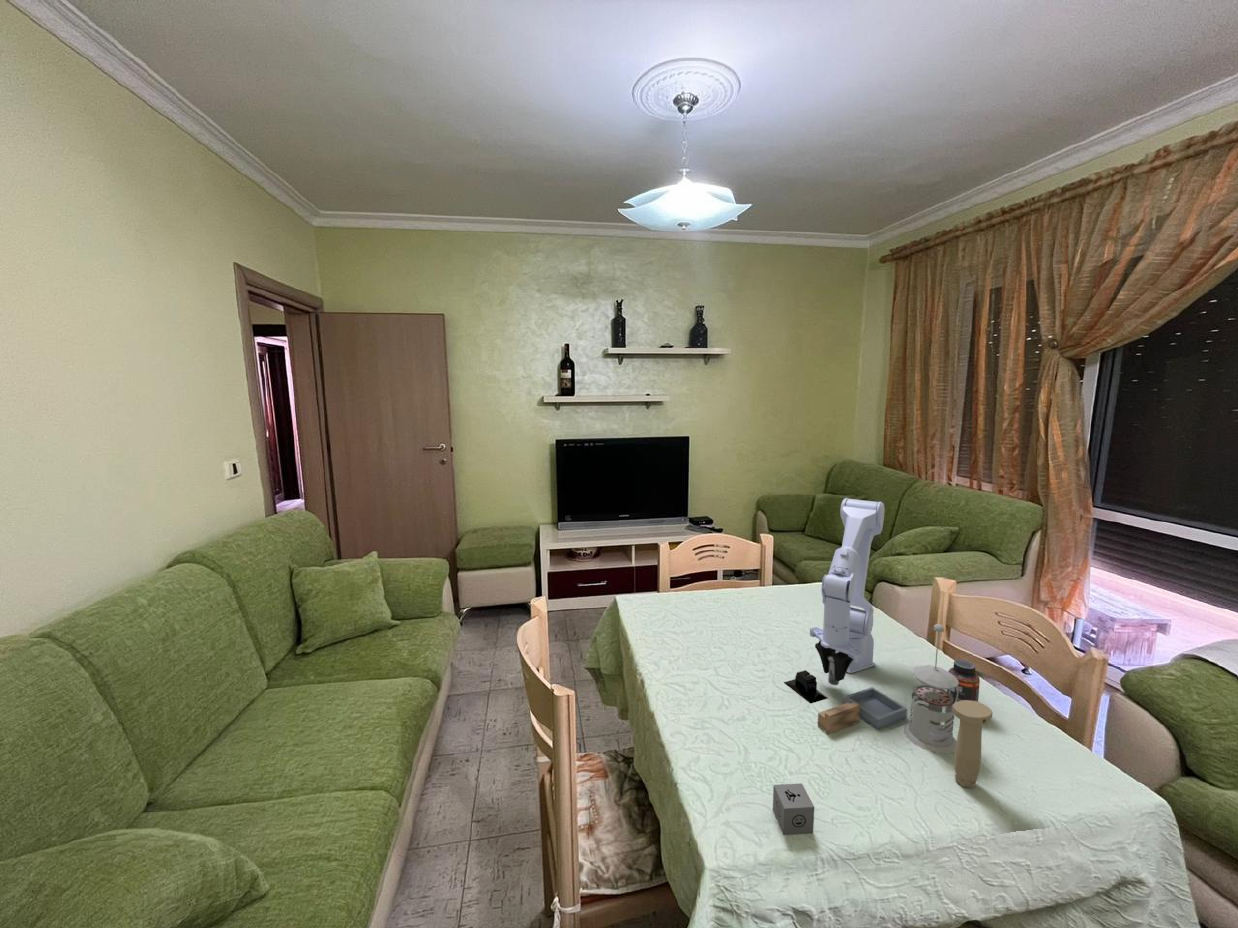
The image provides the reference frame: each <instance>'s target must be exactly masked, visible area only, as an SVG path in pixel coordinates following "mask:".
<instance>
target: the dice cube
mask: <svg viewBox="0 0 1238 928" xmlns="http://www.w3.org/2000/svg"><path fill="white" fill-rule="evenodd" d="M772 791H773V793H772V798H773V799H772V812H773V814H774V817H775V819H776V821H777V823H778V825H779V828H780V831H781V833H782V835H783V836H792V835H808V834H809V835H810V834H814V826H815V825H814V819H815V806H814V804H813V802H812V799H811V798H810V796H809V794H808V792H807V791H806V788H805V787H804V785H803V783H786V784H785V783H784V784H773V790H772Z"/></svg>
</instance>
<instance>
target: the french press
mask: <svg viewBox="0 0 1238 928" xmlns="http://www.w3.org/2000/svg"><path fill="white" fill-rule="evenodd" d="M933 631H935V632H937V640H936V650H935V651H936V652H935V664H934V665H931V664H926V665H918V666H915V667H913V668H912V675H913V676H914V677H915V679H916V680H918V681H919V682H920V683H921V684H917V685H915V686H914V687H913V691H912V693H911V696H910V697H911V698H910V712H909V721H908V722H907V723H906V724H904V726H903V734H904V735H905V737H906V738H907V739H908V740H909V741H910V742H911V743H913V744H914V745H916V746H917V747H920V748H921V749H922V750H926V751H929V752H931V753H937V754H950V753H951V754H952V753H955V748H956V742H957V739H955V737H954V735H953V734H954V726H955V725H954V724H955V722H954V720H955V715H954V714H953V712H952V705H953V704H954V703H953V702H954V698H953V697H952V695H951V694H950V691H951V689H954V688H955V687H956V686H957V697H956V700H955V702H957V699H958V691H959V689H958V680H957V678H956V677H955V676H954V675H952V674H951V673H949V672H948V671H949V670H948V671H947V670H946V669H945V668H943V667H939V666H937V663H938V662H937V661H938V652H939V641H940V640H939V638H940V633H944V632H945V627H944V626H943V625H942V624H940V623H939V624H938V623H937V624H934V625H933ZM948 689H949V693H948V692H947V690H948ZM914 697H916V698H914ZM918 701H921V702H925V703H927V704H925V703H921V702H918ZM943 707H945V712H942V711H943ZM942 723H944V724H942ZM941 724H942V725H941Z"/></svg>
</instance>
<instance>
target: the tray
mask: <svg viewBox="0 0 1238 928" xmlns="http://www.w3.org/2000/svg"><path fill="white" fill-rule="evenodd" d="M848 702H849V703H850V704H851V703H854V702H857V703H858V704H860V715H859V719H861V720H862V721H864V722H865V723H867V724H868V725H870V726H871V727H872V728H874V729H875V730H877V731H879V730H882V729H884V728H887V727H889V726H893V725H895V724H897V723H900V722H901V721H905V720H906V719H908V718H907V716H908V708H907V707H906V706H904V705H903V704H901V703H899V702H898V701H897V700H894V699H893V698H891V697H889V696H888V695H887V694H884V693H883V692H881V691H879V690H878V689H876V688H875V687H873V686H872V687H871V686H870V687H867V688H865V689H862V690H859V691H857V692H853V693H851V694H847V695H845V696H844V698H843V704H845V703H848Z"/></svg>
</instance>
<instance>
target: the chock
mask: <svg viewBox="0 0 1238 928" xmlns="http://www.w3.org/2000/svg"><path fill="white" fill-rule="evenodd" d="M859 715H860V704H858V703H857V702H854V703H851V704H850V703H849V702H848V703H845V704H844V703H843V704H842V703H841V704H840V705H837V706H834V707H832V708H829V709H826V710H822V711H819V712H818V713H817V727H819V728H820V729H821V730H823V731H824V732H825V733H826V734H828V735H829V734H832V733H834V732H838V731H840V730H843V729H845V728H848V727H851V726H853V725H857V724H858V723H860V717H859Z"/></svg>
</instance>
